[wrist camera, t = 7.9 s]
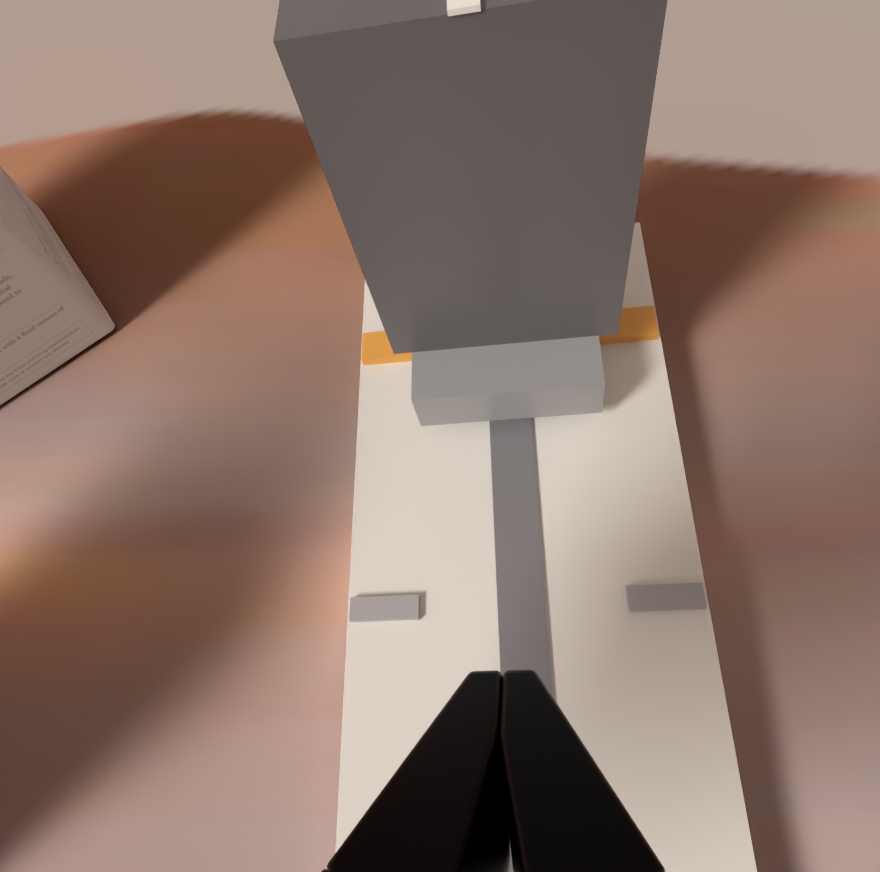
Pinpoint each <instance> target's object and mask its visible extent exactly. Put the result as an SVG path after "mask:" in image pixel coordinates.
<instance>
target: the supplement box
mask: <svg viewBox="0 0 880 872" xmlns="http://www.w3.org/2000/svg"><path fill="white" fill-rule="evenodd" d="M114 327H115V325H114V323H113V321H112V319H111V318H110V316H109V314H108V313H107V311H106V310H105V308H104V307H103V305H102V303H101V302H100V300H99V299H98V297H97V296H96V294H95V293H94V291H93V289H92V288H91V286H90V285H89V283H88V282H87V280H86V279H85V277H84V276H83V274H82V272H81V271H80V269H79V268H78V266H77V265H76V263H75V262H74V260H73V259H72V257H71V255H70V254H69V252H68V251H67V249H66V248H65V246H64V245H63V243H62V241H61V240H60V238H59V237H58V235H57V234H56V232H55V230H54V229H53V227H52V226H51V224H50V223H49V221H48V219H47V218H46V217H45V215H44V214H43V212H42V211H41V209H40V208H39V207H38V206H37V205H36V204H35V203H34V202H33V201H32V200H31V199H30V198H29V197H28V195H27V194H26V193H25V192H24V191H23V190H22V189H21V188H20V187H19V186H18V185H17V184H16V182H15V181H14V180H13V179H12V178H11V177H10V176H9V175H8V174H7V173H6V172H5V171H4V170H3V169H2V167H1V166H0V405H1V404H3V403H4V402H6V401H7V400H9V399H10V398H12V397H13V396H15V395H16V394H18V393H19V392H21V391H22V390H24V389H25V388H27V387H28V386H30V385H31V384H33V383H34V382H36V381H37V380H39V379H40V378H42V377H43V376H45V375H46V374H48V373H50V372H51V371H53V370H54V369H56V368H57V367H59V366H60V365H62V364H63V363H65V362H66V361H68V360H69V359H71V358H72V357H74V356H75V355H77V354H78V353H80V352H81V351H83V350H84V349H85V348H87V347H88V346H90V345H91V344H93V343H94V342H96V341H97V340H99V339H100V338H102V337H103V336H105V335H107V334H108V333H110V332H111V331H112V330H113V329H114Z"/></svg>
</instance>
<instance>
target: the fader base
mask: <svg viewBox="0 0 880 872" xmlns="http://www.w3.org/2000/svg"><path fill="white" fill-rule="evenodd" d="M599 340H600V348H601V355H602V363H603V370H604V378H605V392H604V399H603V407H602V412H601V413H588V414H575V415H561V416H548V417H535V418H522V419H508V420H495V421H482V422H469V423H455V424H442V425H429V426H421V424H420V422H419V419H418V416H417V414H416V411H415V409H414V406H413V404H412V401H411V386H412V352H411V353H400V354H394V353H393V350H392V348H391V345H390V342H389V340H388V337H387V335H386V332H385V329H384V327H383V324H382V322H381V319H380V317H379V314H378V311H377V309H376V306H375V304H374V301H373V298H372V296H371V293H370V291H369V288H368V285H367V283H366V280H365V291H364V311H363V330H362V349H361V369H360V388H359V408H358V427H357V446H356V466H355V485H354V505H353V524H352V543H351V563H350V582H349V602H348V621H347V640H346V660H345V679H344V699H343V718H342V737H341V757H340V776H339V795H338V815H337V834H336V852H337V851H338V849H339V848H340V847H341V845H342V844H343V843H344V841H345V840H346V838H347V837H348V836H349V834H350V833H351V832H352V830H353V829H354V828H355V826H356V825H357V824H358V822H359V821H360V820H361V818H362V817H363V815H364V814H365V813H366V811H367V810H368V809H369V807H370V806H371V805H372V803H373V802H374V801H375V799H376V798H377V797H378V795H379V794H380V792H381V791H382V790H383V788H384V787H385V786H386V784H387V783H388V782H389V780H390V779H391V778H392V776H393V775H394V773H395V772H396V771H397V769H398V768H399V767H400V765H401V764H402V763H403V761H404V760H405V759H406V757H407V756H408V755H409V753H410V752H411V750H412V749H413V748H414V746H415V745H416V744H417V742H418V741H419V740H420V738H421V737H422V736H423V734H424V733H425V732H426V730H427V729H428V727H429V726H430V725H431V723H432V722H433V721H434V719H435V718H436V717H437V715H438V714H439V713H440V711H441V710H442V709H443V707H444V706H445V704H446V703H447V702H448V700H449V699H450V698H451V696H452V695H453V694H454V692H455V691H456V690H457V688H458V687H459V686H460V684H461V683H462V681H463V680H464V679H465V677H466V676H467V675H468V674H469V673H470V672H472V671H491V670H497V671H499V672H501V674H502V676H503V674H504V672H505V671H507V670H528V669H531V670H534V671H536V672H537V674H538V675H539V676H540V678H541V680H542V681H543V683H544V684H545V686H546V687H547V689H548V690H549V692H550V693H551V695H552V696H553V698H554V700H555V701H556V703H557V704H558V706H559V707H560V709H561V710H562V712H563V713H564V715H565V716H566V718H567V719H568V721H569V723H570V724H571V726H572V727H573V729H574V730H575V732H576V733H577V735H578V736H579V738H580V739H581V741H582V742H583V744H584V746H585V747H586V749H587V750H588V752H589V753H590V755H591V756H592V758H593V759H594V761H595V762H596V764H597V765H598V767H599V769H600V770H601V772H602V773H603V775H604V776H605V778H606V779H607V781H608V782H609V784H610V785H611V787H612V788H613V790H614V792H615V793H616V795H617V796H618V798H619V799H620V801H621V802H622V804H623V805H624V807H625V808H626V810H627V811H628V813H629V815H630V816H631V818H632V819H633V821H634V822H635V824H636V825H637V827H638V828H639V830H640V831H641V833H642V834H643V836H644V838H645V839H646V841H647V842H648V844H649V845H650V847H651V848H652V850H653V851H654V853H655V854H656V856H657V857H658V859H659V861H660V862H661V864H662V865H663V867H664V869H665V872H757V868H756V863H755V857H754V852H753V846H752V841H751V835H750V830H749V824H748V819H747V813H746V807H745V802H744V796H743V791H742V785H741V780H740V774H739V769H738V763H737V758H736V752H735V747H734V741H733V736H732V730H731V724H730V719H729V713H728V708H727V702H726V697H725V691H724V686H723V680H722V675H721V669H720V664H719V658H718V653H717V647H716V641H715V636H714V630H713V625H712V619H711V614H710V608H709V603H708V597H707V592H706V586H705V581H704V575H703V569H702V564H701V558H700V553H699V547H698V542H697V536H696V531H695V525H694V520H693V514H692V509H691V503H690V498H689V492H688V486H687V481H686V475H685V470H684V464H683V459H682V453H681V448H680V442H679V437H678V431H677V426H676V420H675V415H674V409H673V403H672V398H671V392H670V387H669V381H668V376H667V370H666V365H665V359H664V354H663V348H662V343H661V337H660V332H659V326H658V320H657V315H656V309H655V304H654V298H653V293H652V287H651V282H650V276H649V271H648V265H647V260H646V254H645V249H644V243H643V237H642V232H641V226H640V222H637V223H635V224H634V230H633V237H632V244H631V251H630V258H629V265H628V271H627V278H626V285H625V292H624V299H623V305H622V312H621V319H620V326H619V333H618V334H611V335H600V336H599ZM510 872H513V866H512V856H511V851H510Z"/></svg>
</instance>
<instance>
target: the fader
mask: <svg viewBox="0 0 880 872" xmlns="http://www.w3.org/2000/svg"><path fill="white" fill-rule="evenodd" d="M666 6H667V0H280V3H279V9H278V16H277V23H276V28H275V35H274V44H275V47H276V49H277V52H278V55H279V57H280V60H281V62H282V65H283V67H284V70H285V73H286V75H287V78H288V80H289V83H290V86H291V88H292V91H293V93H294V96H295V98H296V101H297V104H298V106H299V109H300V112H301V114H302V117H303V119H304V122H305V125H306V127H307V130H308V132H309V135H310V138H311V140H312V143H313V145H314V148H315V151H316V153H317V156H318V158H319V161H320V163H321V166H322V169H323V171H324V174H325V176H326V179H327V182H328V184H329V187H330V189H331V192H332V195H333V197H334V200H335V202H336V205H337V208H338V210H339V213H340V215H341V218H342V221H343V223H344V226H345V228H346V231H347V234H348V236H349V239H350V241H351V244H352V246H353V249H354V252H355V254H356V257H357V259H358V262H359V265H360V267H361V270H362V272H363V275H364V278H365V280H366V283H367V285H368V288H369V291H370V293H371V296H372V298H373V301H374V304H375V306H376V309H377V311H378V314H379V317H380V319H381V322H382V324H383V327H384V329H385V332H386V335H387V337H388V340H389V342H390V345H391V348H392V350H393V353H394V354H400V353H411V352H412V386H411V401H412V404H413V406H414V409H415V411H416V414H417V416H418V419H419V422H420V424H421V426H429V425H442V424H455V423H469V422H482V421H495V420H508V419H522V418H535V417H548V416H561V415H575V414H588V413H601V412H602V407H603V399H604V392H605V378H604V370H603V363H602V355H601V348H600V340H599V336H600V335H611V334H618V333H619V326H620V319H621V312H622V305H623V299H624V292H625V285H626V278H627V271H628V265H629V258H630V251H631V244H632V237H633V230H634V224H635V217H636V210H637V203H638V196H639V190H640V183H641V176H642V169H643V162H644V156H645V149H646V142H647V135H648V128H649V121H650V114H651V108H652V101H653V94H654V88H655V81H656V74H657V67H658V60H659V53H660V47H661V40H662V33H663V26H664V20H665V13H666Z"/></svg>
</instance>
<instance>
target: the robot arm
mask: <svg viewBox="0 0 880 872" xmlns="http://www.w3.org/2000/svg"><path fill="white" fill-rule="evenodd" d="M510 851H511V856H512V866H513V872H665V869H664V867H663V865H662V864H661V862H660V861H659V859H658V857H657V856H656V854H655V853H654V851H653V850H652V848H651V847H650V845H649V844H648V842H647V841H646V839H645V838H644V836H643V834H642V833H641V831H640V830H639V828H638V827H637V825H636V824H635V822H634V821H633V819H632V818H631V816H630V815H629V813H628V811H627V810H626V808H625V807H624V805H623V804H622V802H621V801H620V799H619V798H618V796H617V795H616V793H615V792H614V790H613V788H612V787H611V785H610V784H609V782H608V781H607V779H606V778H605V776H604V775H603V773H602V772H601V770H600V769H599V767H598V765H597V764H596V762H595V761H594V759H593V758H592V756H591V755H590V753H589V752H588V750H587V749H586V747H585V746H584V744H583V742H582V741H581V739H580V738H579V736H578V735H577V733H576V732H575V730H574V729H573V727H572V726H571V724H570V723H569V721H568V719H567V718H566V716H565V715H564V713H563V712H562V710H561V709H560V707H559V706H558V704H557V703H556V701H555V700H554V698H553V696H552V695H551V693H550V692H549V690H548V689H547V687H546V686H545V684H544V683H543V681H542V680H541V678H540V676H539V675H538V674H537V672H536V671H534V670H531V669H528V670H507V671H505V672H504V674H503V676H502V674H501V672H499V671H497V670H491V671H472V672H470V673H469V674H468V675H467V676H466V677H465V679H464V680H463V681H462V683H461V684H460V686H459V687H458V688H457V690H456V691H455V692H454V694H453V695H452V696H451V698H450V699H449V700H448V702H447V703H446V704H445V706H444V707H443V709H442V710H441V711H440V713H439V714H438V715H437V717H436V718H435V719H434V721H433V722H432V723H431V725H430V726H429V727H428V729H427V730H426V732H425V733H424V734H423V736H422V737H421V738H420V740H419V741H418V742H417V744H416V745H415V746H414V748H413V749H412V750H411V752H410V753H409V755H408V756H407V757H406V759H405V760H404V761H403V763H402V764H401V765H400V767H399V768H398V769H397V771H396V772H395V773H394V775H393V776H392V778H391V779H390V780H389V782H388V783H387V784H386V786H385V787H384V788H383V790H382V791H381V792H380V794H379V795H378V797H377V798H376V799H375V801H374V802H373V803H372V805H371V806H370V807H369V809H368V810H367V811H366V813H365V814H364V815H363V817H362V818H361V820H360V821H359V822H358V824H357V825H356V826H355V828H354V829H353V830H352V832H351V833H350V834H349V836H348V837H347V838H346V840H345V841H344V843H343V844H342V845H341V847H340V848H339V849H338V851H337V852H336V853H335V855H334V856H333V857H332V859H331V860H330V861H329V863H328V865H327V869H328V870H327V869H324V870H323V871H322V872H510Z"/></svg>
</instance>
